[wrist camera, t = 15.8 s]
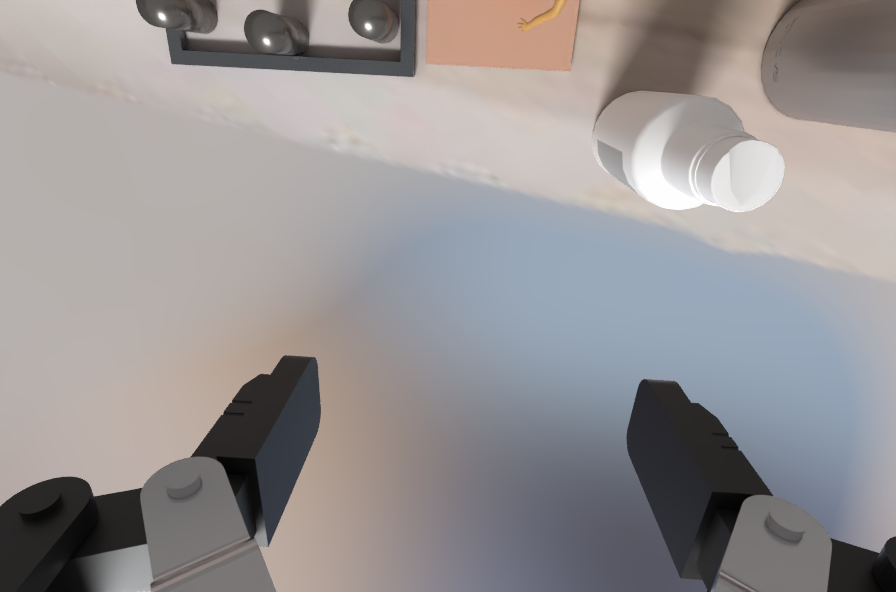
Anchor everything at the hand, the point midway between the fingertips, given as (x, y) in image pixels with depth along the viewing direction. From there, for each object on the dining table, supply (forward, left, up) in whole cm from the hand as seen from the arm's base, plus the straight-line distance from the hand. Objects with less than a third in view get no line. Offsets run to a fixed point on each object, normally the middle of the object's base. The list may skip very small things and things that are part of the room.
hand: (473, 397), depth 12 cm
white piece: (-13, -4, -32) cm, 35 cm away
